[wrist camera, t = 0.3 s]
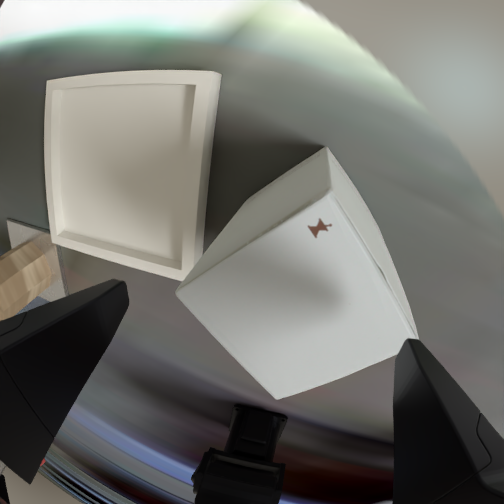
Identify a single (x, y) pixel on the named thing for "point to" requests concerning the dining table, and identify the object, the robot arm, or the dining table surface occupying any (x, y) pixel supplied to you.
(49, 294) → the white square pedestal
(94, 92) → the plastic tray
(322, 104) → the dining table surface
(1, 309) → the wooden pen holder
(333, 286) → the supplement box
